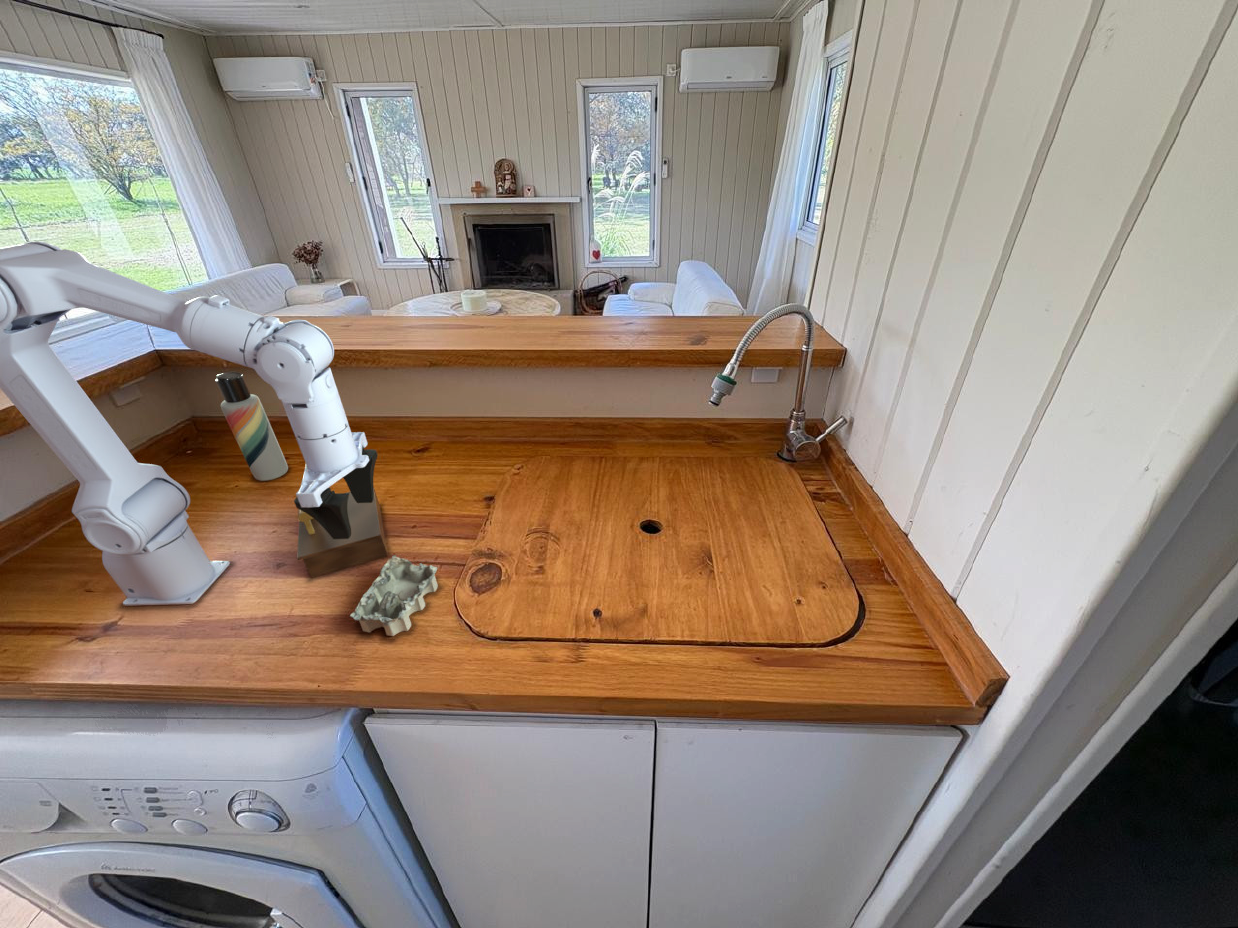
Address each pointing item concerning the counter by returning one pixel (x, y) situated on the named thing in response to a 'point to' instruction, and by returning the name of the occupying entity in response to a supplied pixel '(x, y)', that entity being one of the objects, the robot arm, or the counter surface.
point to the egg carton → (395, 596)
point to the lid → (320, 542)
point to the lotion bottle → (251, 428)
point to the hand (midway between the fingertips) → (354, 518)
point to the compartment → (348, 554)
